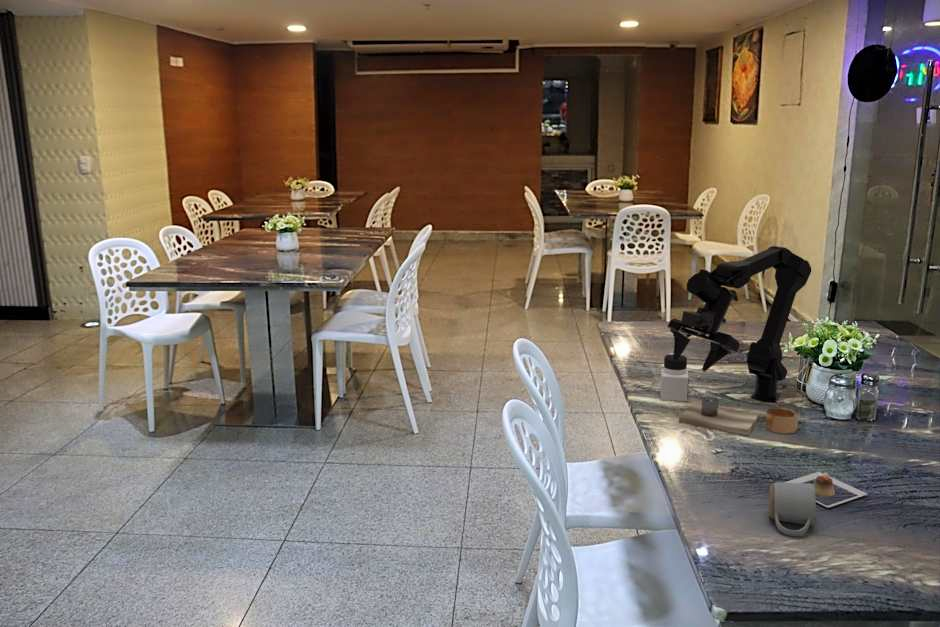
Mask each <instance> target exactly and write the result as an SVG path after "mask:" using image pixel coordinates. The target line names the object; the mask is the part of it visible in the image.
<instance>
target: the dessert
mask: <svg viewBox="0 0 940 627" xmlns="http://www.w3.org/2000/svg"><path fill="white" fill-rule="evenodd" d="M812 480H814V483H813V484H814V486H815V495H817V496H822V497H833V496H834V495H835V494H836V492H835V488H834V487H835V486H837V487H839V488H841V489H843V490H845V491H848V492H849V493H852V494H854V495H856V496H853V497H849V498H847V499H844V500H840V501H838V502H834V503H832V504H829V505H826V504H824V503H822V502H820V501H818V500H816V504H818V505H821V506H823V507H825V508H827V509H828V508H832V507H835V506H838V505H840V504H844V503H847V502H849V501H852V500H855V499H858V498H861V497H864V496H867V495H869V493H866V492H864V491H862V490H860V489H858V488H855V487H854V486H851V485H849V484H847V483H845V482H843V481H841V480H838V479H836V478H834V477H832V476H830V474H829V473H828V472H826V471H825V472H820V471H817V472H814V473H809V474H806V475H804V476H800V477H797V478H794V479H790V480H788V481H783V482H784V483H806V482H809V481H812ZM834 485H835V486H834Z"/></svg>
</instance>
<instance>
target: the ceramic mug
mask: <svg viewBox="0 0 940 627" xmlns="http://www.w3.org/2000/svg"><path fill="white" fill-rule="evenodd" d="M784 482H785V481H783V482H782V481H781V482H772V483H771V484H769V492H768V514H769V517H770V519H772V520H775V525H776V527H777V529H778V530H779V531H780V532H781V533H783V534H785V535H787V536H790V537H800V536H802V535H805V534H806V533H807V532H808V530H809V527H810V526H814V525H815V521H816V510H817V507H816V506H817V503H816V501H817V500H816V497H817V496H816V494H815V486H814V483H805V482H803V483H784ZM781 522H786V523H793V524H798V525H804V526H803V527H802V528H800V529H797V530H796V529H795V530H793V529H789V528H786V527H785V526H783V525H782V524H781Z"/></svg>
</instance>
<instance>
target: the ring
mask: <svg viewBox="0 0 940 627" xmlns="http://www.w3.org/2000/svg"><path fill="white" fill-rule="evenodd" d="M765 415H766V416H765V424H764V428H765V429H767V430H769V431H770V433H771V432H772V433H776V434H781V435H788V434H789V433H790V434H795V433H796V432H797V429H798V424H799V422H798V420H799V413H798V412H796V411H794V410H793V409H790V408H789V409H788V408H783V407H774V408H773V407H772V408H768V409H767V411H766V413H765ZM795 431H796V432H795Z"/></svg>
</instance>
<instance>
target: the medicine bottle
mask: <svg viewBox="0 0 940 627" xmlns="http://www.w3.org/2000/svg"><path fill="white" fill-rule="evenodd" d="M673 356H674V353H669V354H666V355H665V356H664V358H663V367H662V368H661V369H660V384H659V395H660V400H661V401H670V402H671V401H673V402H686V401H687V402H688V397H689V383H690V382H689V381H690V376H689V372H688V369H687V365H688V358H687V356H686V355H683V354H681V356H680V357H679V359H678V360H677V361H674V360H673Z"/></svg>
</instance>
